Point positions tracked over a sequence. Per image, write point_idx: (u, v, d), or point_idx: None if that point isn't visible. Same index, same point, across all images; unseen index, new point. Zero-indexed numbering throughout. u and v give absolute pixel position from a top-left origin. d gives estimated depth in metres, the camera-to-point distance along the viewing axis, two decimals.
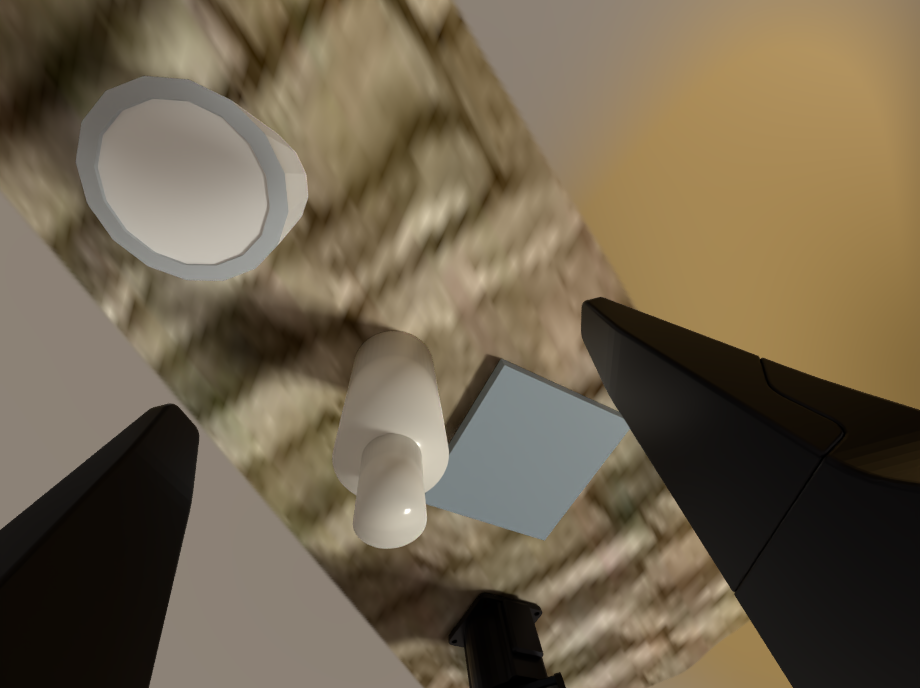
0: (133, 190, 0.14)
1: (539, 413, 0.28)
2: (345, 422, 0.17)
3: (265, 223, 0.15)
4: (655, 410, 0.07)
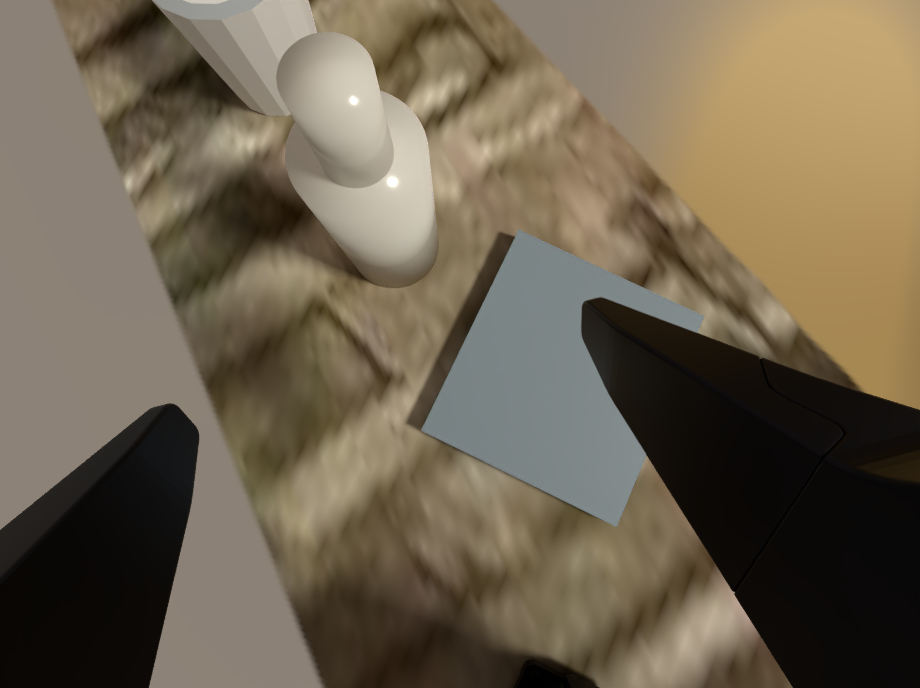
0: None
1: (570, 295, 0.22)
2: None
3: None
4: (655, 410, 0.07)
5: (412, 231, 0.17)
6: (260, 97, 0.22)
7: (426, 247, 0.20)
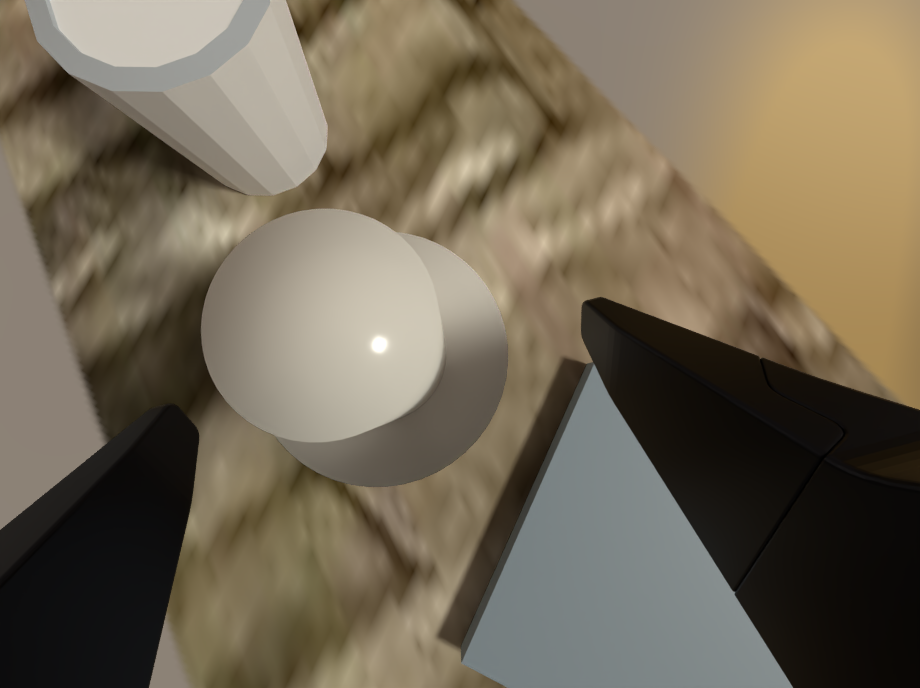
0: None
1: None
2: None
3: (236, 16, 0.11)
4: (655, 410, 0.07)
5: None
6: (236, 177, 0.16)
7: None
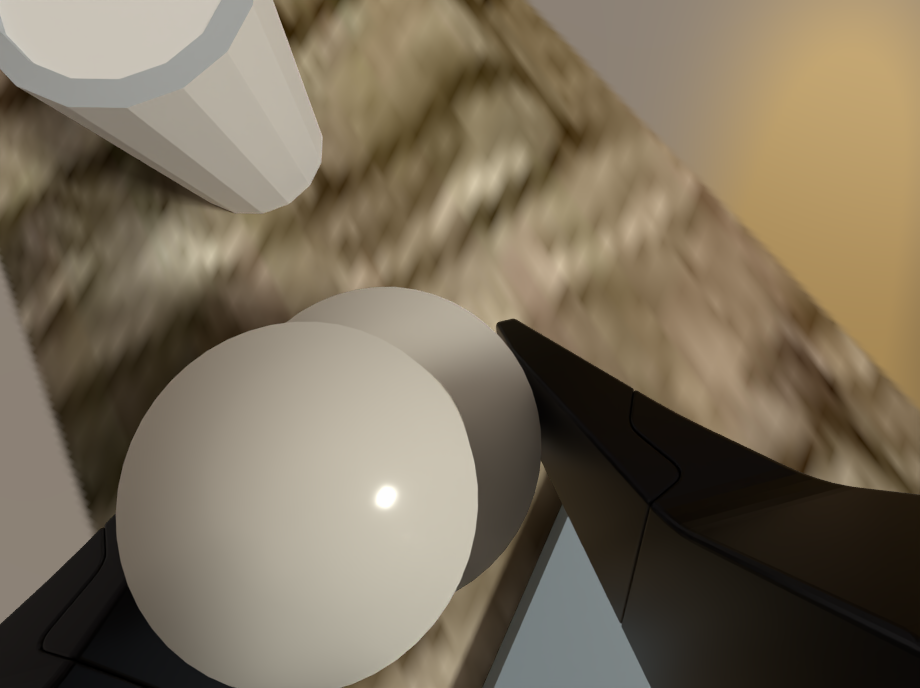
0: None
1: None
2: None
3: (213, 19, 0.10)
4: (548, 438, 0.07)
5: None
6: (220, 196, 0.15)
7: None
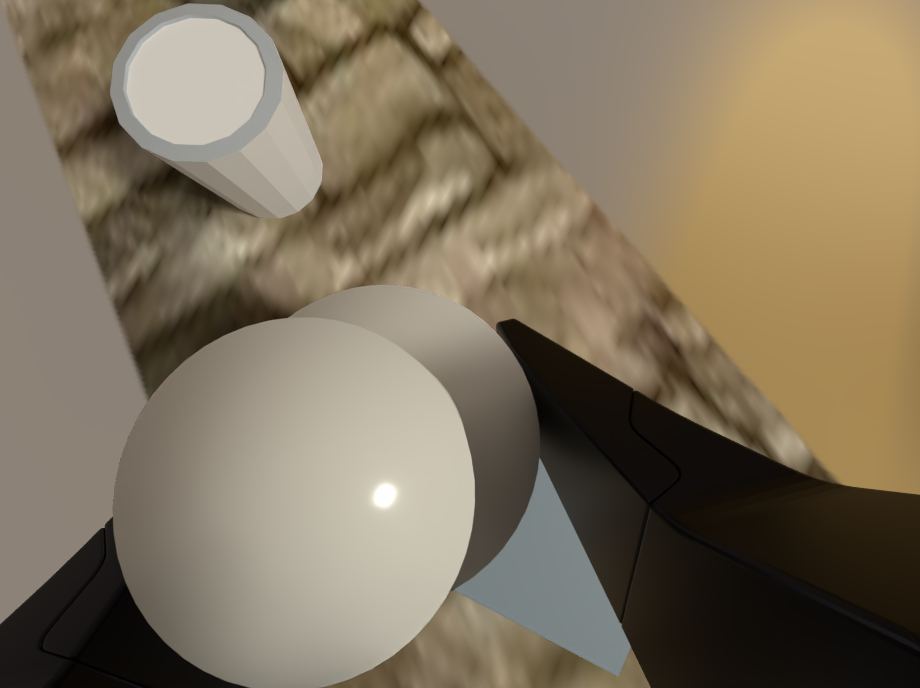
0: (151, 83, 0.16)
1: None
2: None
3: (257, 108, 0.16)
4: (548, 438, 0.07)
5: None
6: (251, 207, 0.21)
7: None
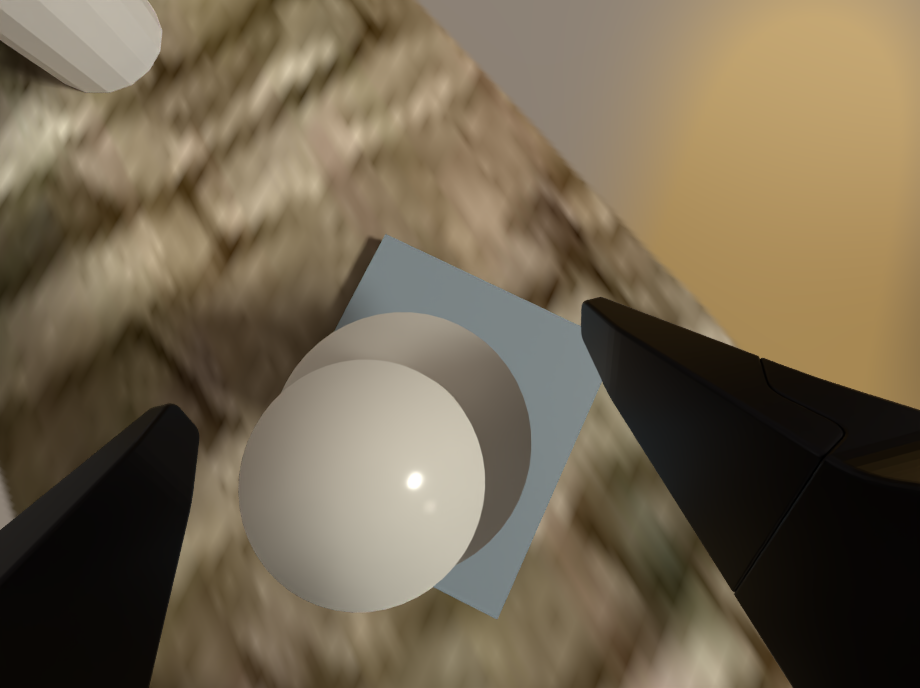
0: None
1: (448, 317, 0.17)
2: None
3: None
4: (655, 410, 0.07)
5: None
6: (59, 67, 0.18)
7: None
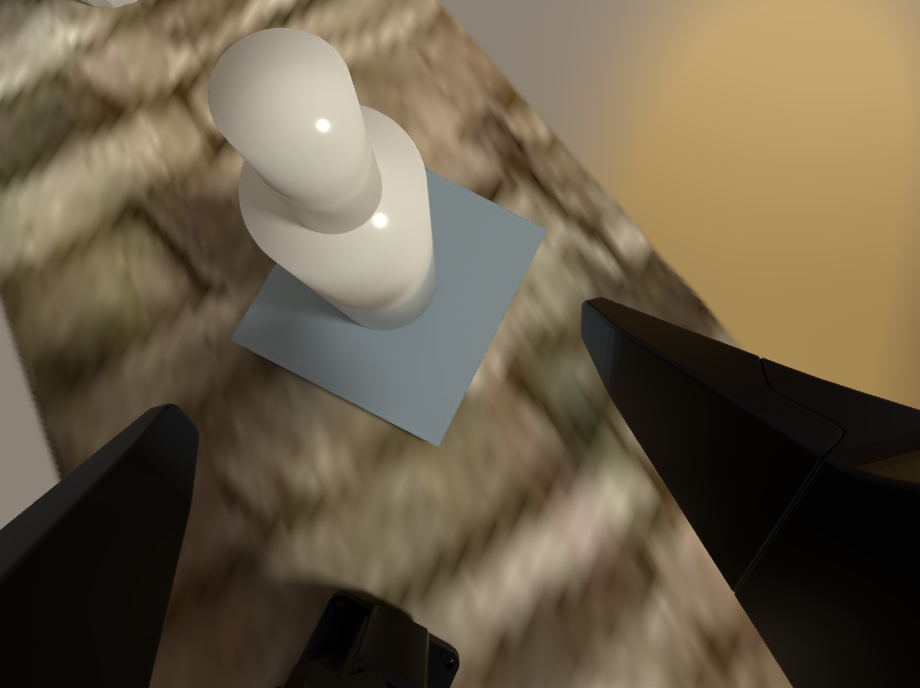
0: None
1: None
2: None
3: None
4: (655, 410, 0.07)
5: (403, 281, 0.13)
6: None
7: (421, 292, 0.16)
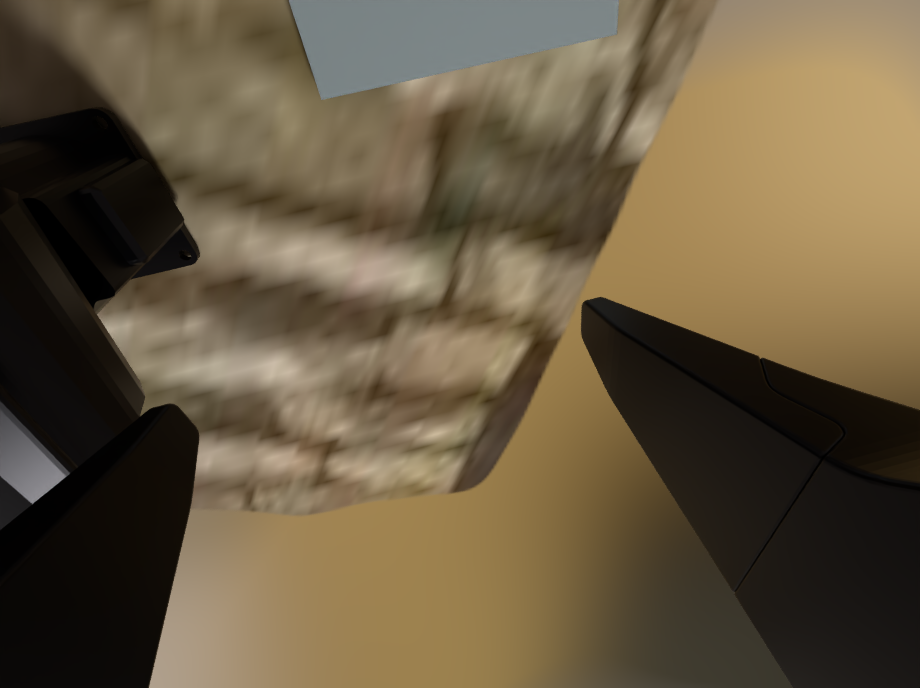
0: None
1: None
2: None
3: None
4: (655, 410, 0.07)
5: None
6: None
7: None
